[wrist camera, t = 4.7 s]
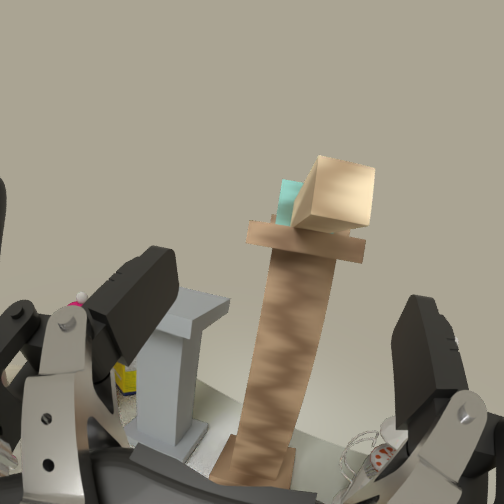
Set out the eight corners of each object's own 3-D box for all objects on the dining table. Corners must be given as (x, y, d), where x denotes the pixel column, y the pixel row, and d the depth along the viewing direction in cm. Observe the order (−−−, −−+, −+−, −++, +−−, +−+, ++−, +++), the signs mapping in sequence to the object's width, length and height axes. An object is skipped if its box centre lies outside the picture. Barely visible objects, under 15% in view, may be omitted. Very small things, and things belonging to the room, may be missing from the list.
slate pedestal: (115, 441, 29) (111, 295, 28) (157, 404, 41) (167, 283, 40) (179, 471, 27) (192, 320, 26) (211, 423, 39) (230, 298, 38)
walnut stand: (207, 483, 25) (253, 197, 24) (233, 432, 38) (273, 215, 37) (285, 502, 23) (369, 216, 22) (294, 445, 36) (348, 228, 35)
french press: (390, 538, 14) (506, 357, 13) (306, 515, 21) (385, 332, 20) (404, 492, 23) (483, 332, 22) (334, 473, 29) (394, 314, 28)
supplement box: (138, 376, 49) (140, 327, 48) (151, 392, 45) (154, 340, 44) (111, 380, 44) (111, 329, 44) (123, 396, 40) (123, 342, 40)
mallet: (279, 208, 13) (293, 114, 13) (274, 230, 34) (280, 190, 34) (395, 231, 13) (401, 141, 13) (322, 238, 34) (328, 199, 34)
